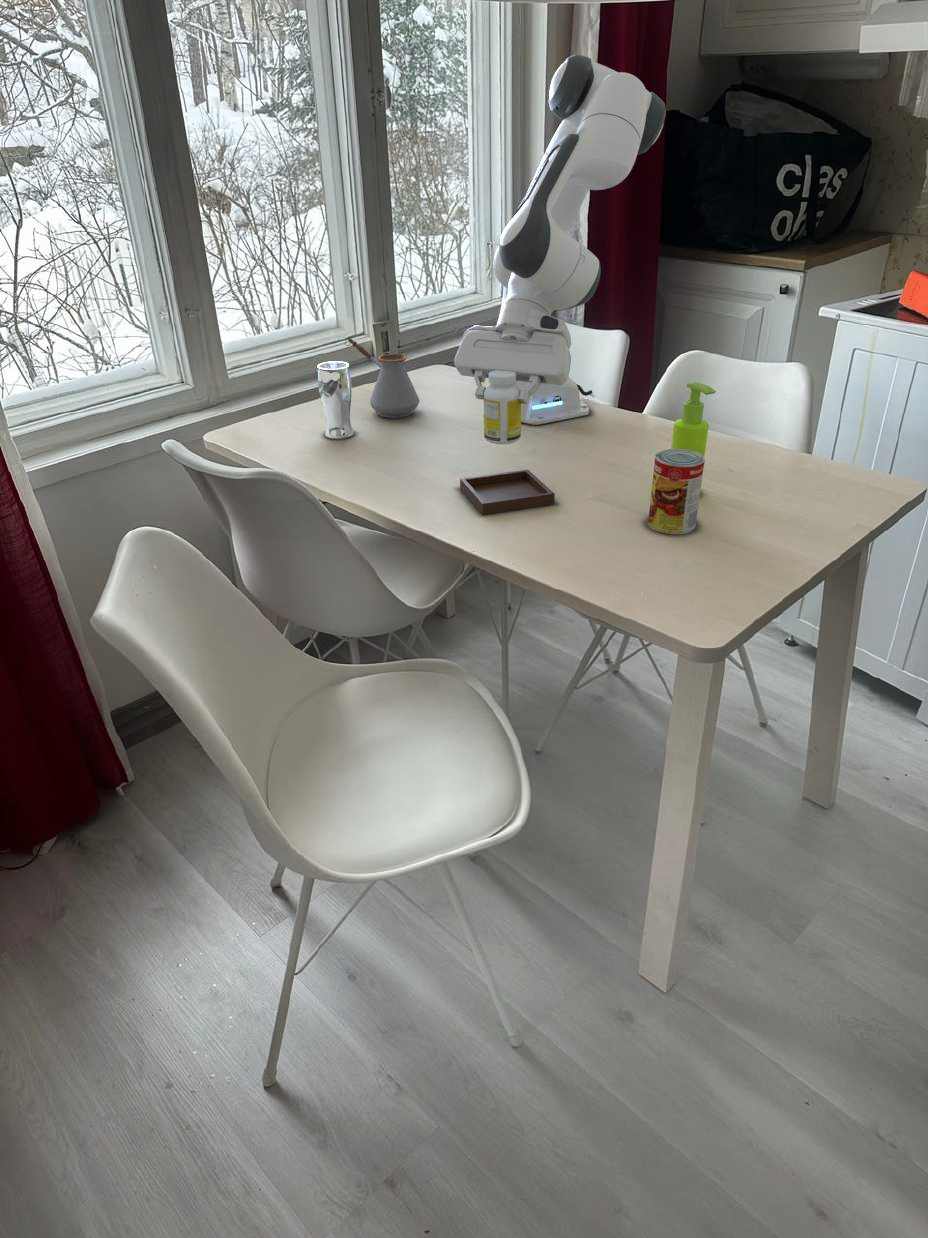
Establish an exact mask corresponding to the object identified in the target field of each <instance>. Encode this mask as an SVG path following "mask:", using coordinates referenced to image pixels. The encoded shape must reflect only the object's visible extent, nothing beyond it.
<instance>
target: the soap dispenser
mask: <svg viewBox="0 0 928 1238" xmlns="http://www.w3.org/2000/svg"><path fill="white" fill-rule="evenodd" d="M686 388H689V389H690V391H689V392H690V393H689V399H688V400H686V401H685V402H683V407H682V408H683V409H682V418H679V419H676V420H675V421H674V422H673V430H672V439H671V448H670V449H685V450H691V451H695V452H697V453H700V454H701V455H703V456H704V457H705V455H706V448H707V439H708V434H709V433H708V432H709V426H710V424H709V422H708V421H706V420H704V419H703V415H704V407H705V404H704V402H702V401H701V400H700V399H701V393H702V394H704V395H712V394H713V395H714V394H716V392H717V391H716V390H715V389H714V388H712V387H711V386H709V385H707V384H705V383H700V382H689V383H686Z"/></svg>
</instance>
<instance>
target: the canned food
mask: <svg viewBox="0 0 928 1238" xmlns="http://www.w3.org/2000/svg"><path fill="white" fill-rule="evenodd" d="M705 461H706V457H705V456H703V455H701V454H700V453H697V452H695V451H691V450H685V449H671V448H670V449H669V448H668V449H663V450H660V451H658V452H656V454H654V464H653V471H652V483H651V492H650V502H649V510H648V511H649V512H648V520H647V524H648V527H650V529H652V530H653V531H656V532H659V533H662V534H667V535H685V534H690V533H691V532H693V531H695V529H696V526H697V519H698V511H699V504H700V499H701V489H702V483H703V475H704V469H705Z"/></svg>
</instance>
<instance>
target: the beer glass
mask: <svg viewBox="0 0 928 1238" xmlns="http://www.w3.org/2000/svg"><path fill="white" fill-rule="evenodd" d="M316 367H317V386H318V393H319V397H320V402H321V405H322V409H323V413H324V417H325V418H324V419H325V431H324V435H325V437H326V438H329V439H333V440H342V439H348V438H350V437H352V436H353V435H354V430H353V426H352V422H351V405H352V395H353V394H352V393H353V391H352V390H353V389H352V388H353V387H352V378H351V377H352V376H351V372H350V364H349V363H348V362H345V361H326V362H322V363H319V364H318V365H317V366H316Z"/></svg>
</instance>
